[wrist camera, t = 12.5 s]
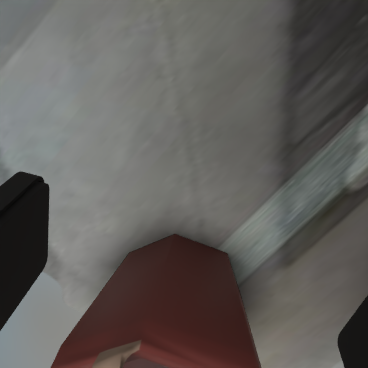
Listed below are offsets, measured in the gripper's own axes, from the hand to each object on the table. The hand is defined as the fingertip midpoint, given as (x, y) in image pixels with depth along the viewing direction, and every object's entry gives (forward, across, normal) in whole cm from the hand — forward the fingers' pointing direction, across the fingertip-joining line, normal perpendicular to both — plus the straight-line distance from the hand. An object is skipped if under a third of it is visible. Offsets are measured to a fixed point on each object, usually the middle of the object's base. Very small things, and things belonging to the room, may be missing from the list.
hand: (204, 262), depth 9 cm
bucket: (+28, -3, +29) cm, 40 cm away
